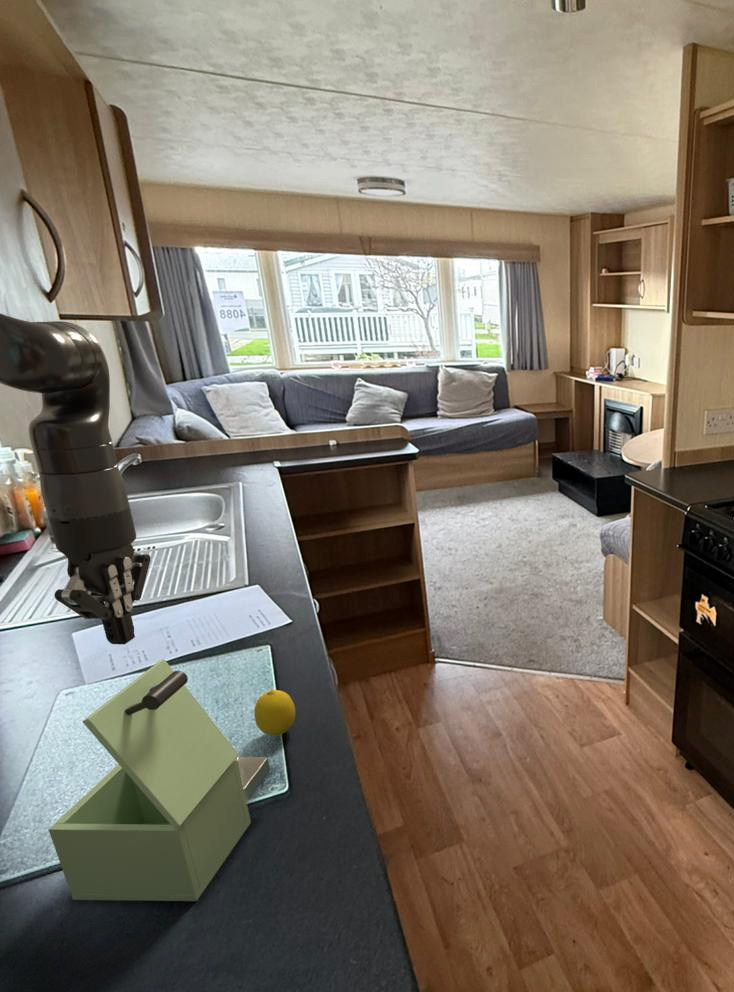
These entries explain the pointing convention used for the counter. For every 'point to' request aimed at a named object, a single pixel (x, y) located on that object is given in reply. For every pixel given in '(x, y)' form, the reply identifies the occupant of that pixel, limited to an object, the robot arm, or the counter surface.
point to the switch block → (252, 773)
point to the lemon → (274, 712)
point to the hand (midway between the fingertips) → (122, 641)
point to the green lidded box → (147, 841)
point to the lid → (163, 741)
